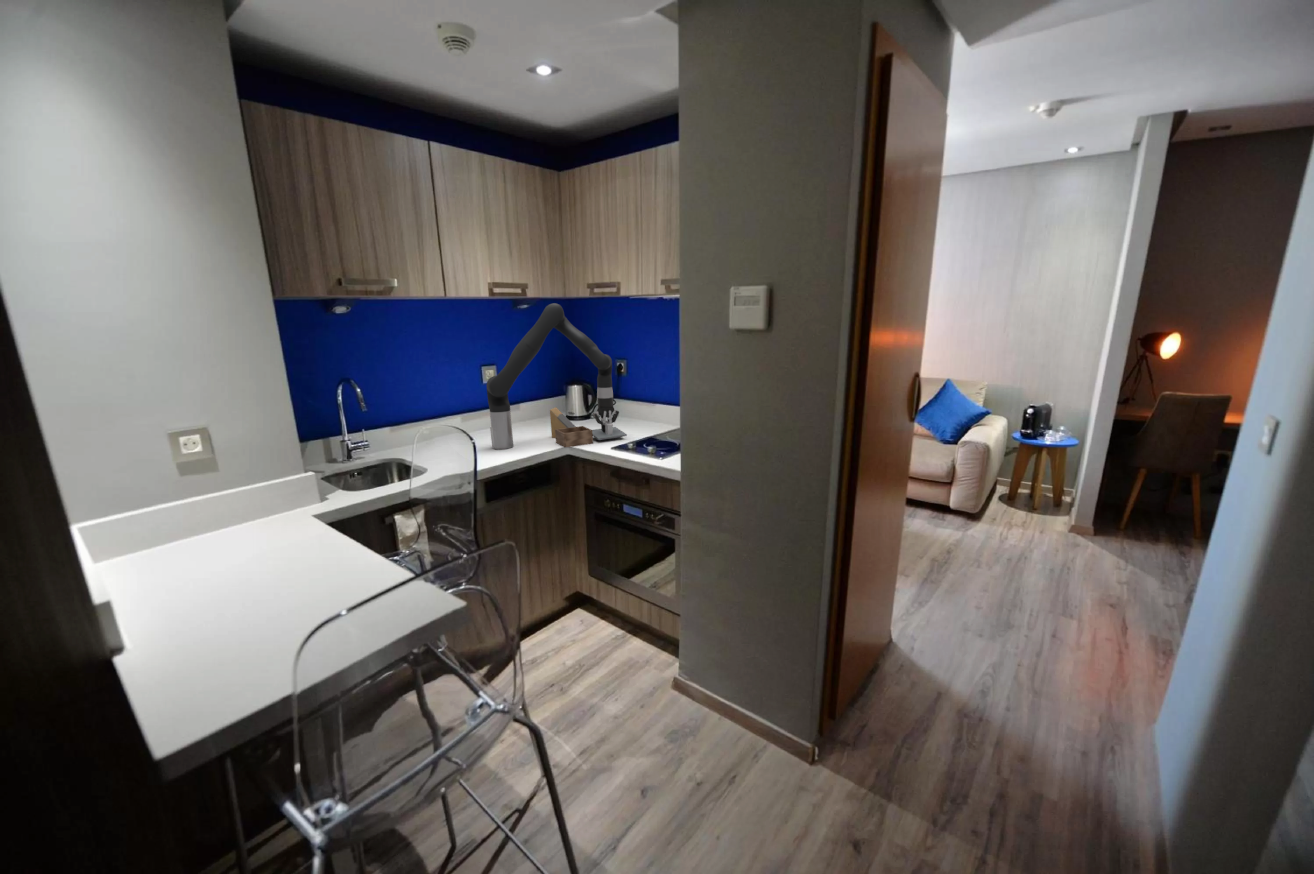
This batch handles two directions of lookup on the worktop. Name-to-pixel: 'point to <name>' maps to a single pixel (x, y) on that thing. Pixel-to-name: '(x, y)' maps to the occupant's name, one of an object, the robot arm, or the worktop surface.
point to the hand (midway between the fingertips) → (606, 431)
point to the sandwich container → (559, 421)
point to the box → (574, 436)
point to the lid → (608, 432)
